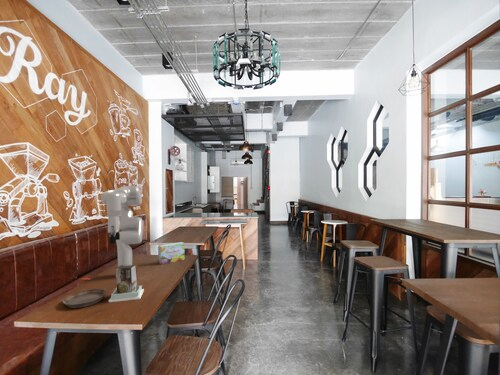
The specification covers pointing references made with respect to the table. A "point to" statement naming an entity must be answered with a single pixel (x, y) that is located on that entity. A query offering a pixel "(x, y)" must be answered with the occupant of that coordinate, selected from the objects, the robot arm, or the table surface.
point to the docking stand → (126, 295)
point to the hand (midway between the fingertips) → (115, 241)
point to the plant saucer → (84, 298)
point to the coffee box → (126, 279)
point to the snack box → (170, 253)
